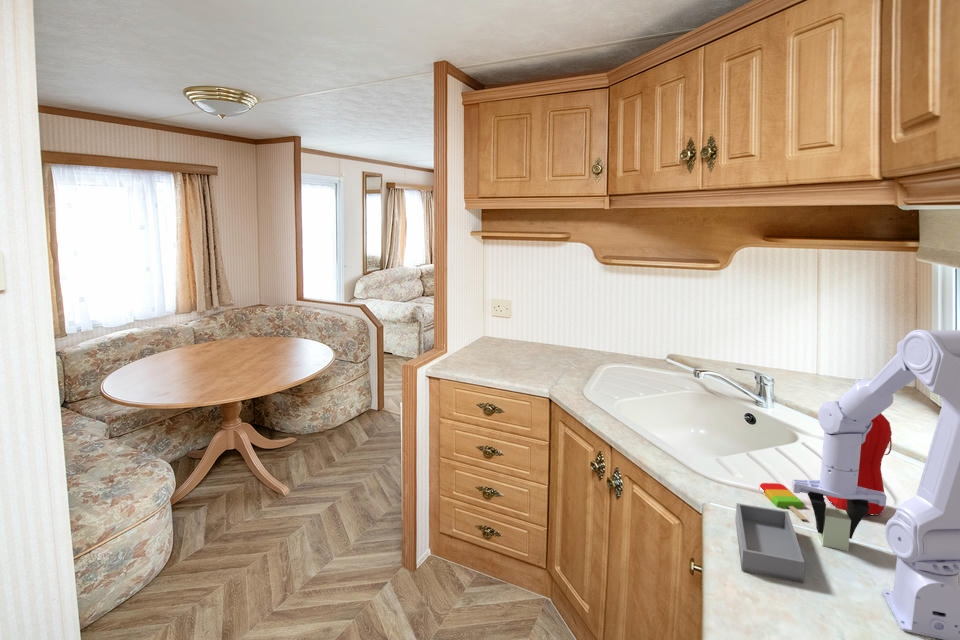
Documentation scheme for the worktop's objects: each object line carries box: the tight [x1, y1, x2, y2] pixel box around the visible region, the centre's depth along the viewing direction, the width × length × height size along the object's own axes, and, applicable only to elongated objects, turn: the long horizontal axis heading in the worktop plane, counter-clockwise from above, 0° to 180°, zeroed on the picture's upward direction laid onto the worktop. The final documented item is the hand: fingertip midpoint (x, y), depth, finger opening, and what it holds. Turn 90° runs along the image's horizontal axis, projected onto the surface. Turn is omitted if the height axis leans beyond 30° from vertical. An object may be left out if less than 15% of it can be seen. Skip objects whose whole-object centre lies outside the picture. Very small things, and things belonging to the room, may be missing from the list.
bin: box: [735, 503, 805, 584], centre depth 98 cm, size 18×9×4 cm, turn 157°
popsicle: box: [759, 482, 807, 521], centre depth 115 cm, size 6×15×2 cm, turn 176°
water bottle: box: [825, 413, 893, 515], centre depth 112 cm, size 9×11×25 cm
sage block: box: [818, 506, 851, 552], centre depth 99 cm, size 4×4×6 cm
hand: (833, 533), depth 100 cm, fingers closed on sage block, 4 cm apart
